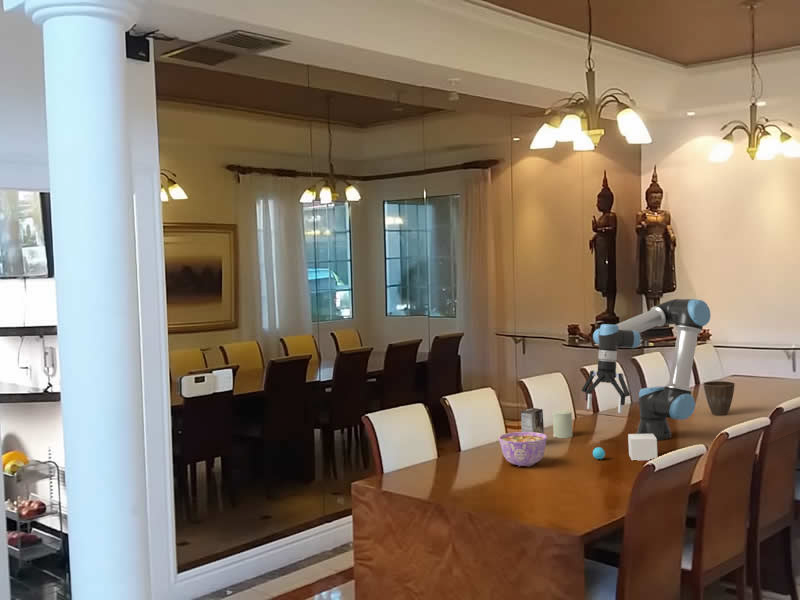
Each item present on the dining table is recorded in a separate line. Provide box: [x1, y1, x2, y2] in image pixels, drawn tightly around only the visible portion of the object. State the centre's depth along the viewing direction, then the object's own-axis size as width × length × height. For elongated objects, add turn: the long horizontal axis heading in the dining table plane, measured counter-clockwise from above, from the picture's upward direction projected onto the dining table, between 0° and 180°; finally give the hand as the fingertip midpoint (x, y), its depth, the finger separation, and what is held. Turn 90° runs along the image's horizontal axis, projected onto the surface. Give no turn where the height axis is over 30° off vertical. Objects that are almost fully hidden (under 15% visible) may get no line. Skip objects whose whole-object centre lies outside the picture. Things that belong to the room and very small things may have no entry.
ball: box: [592, 446, 606, 460], centre depth 337 cm, size 5×5×5 cm
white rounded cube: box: [627, 433, 658, 461], centre depth 336 cm, size 10×10×9 cm
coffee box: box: [520, 407, 545, 434], centre depth 370 cm, size 9×6×16 cm
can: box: [551, 409, 574, 439], centre depth 385 cm, size 9×9×12 cm
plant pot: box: [703, 380, 736, 417], centre depth 414 cm, size 15×15×16 cm
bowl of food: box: [498, 431, 548, 467], centre depth 336 cm, size 20×20×12 cm
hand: (604, 410), depth 341 cm, fingers open, 13 cm apart
